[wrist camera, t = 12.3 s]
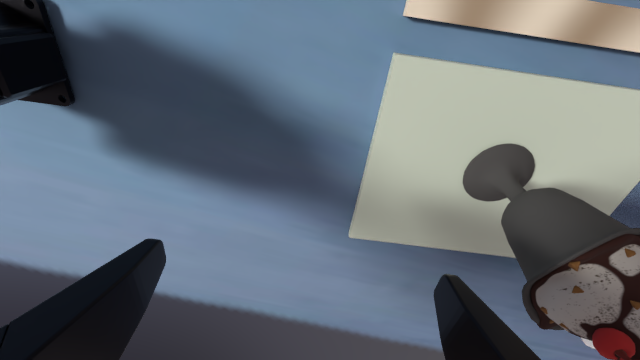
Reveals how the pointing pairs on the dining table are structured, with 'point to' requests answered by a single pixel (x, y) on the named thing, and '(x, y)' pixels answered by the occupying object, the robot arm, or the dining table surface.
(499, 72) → the stub pad
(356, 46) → the dining table surface
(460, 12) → the wooden picture frame
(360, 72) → the dining table surface
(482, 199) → the sundae
